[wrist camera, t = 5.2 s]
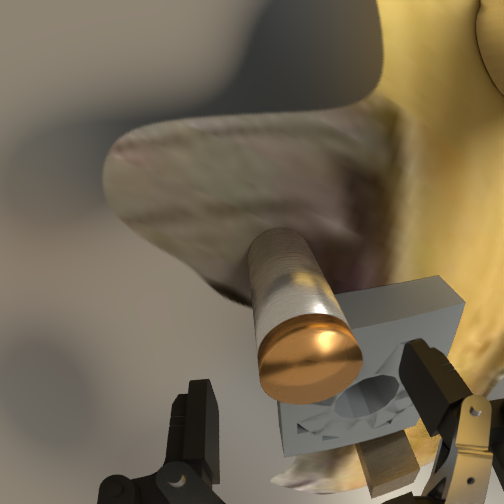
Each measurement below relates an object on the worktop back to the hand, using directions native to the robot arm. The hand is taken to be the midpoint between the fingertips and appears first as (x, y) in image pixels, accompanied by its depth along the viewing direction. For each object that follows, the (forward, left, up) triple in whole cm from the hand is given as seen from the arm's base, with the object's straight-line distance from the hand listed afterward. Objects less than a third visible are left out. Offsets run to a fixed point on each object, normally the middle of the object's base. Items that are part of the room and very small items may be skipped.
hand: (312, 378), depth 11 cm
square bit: (+23, +10, -10) cm, 27 cm away
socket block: (+11, +6, -10) cm, 16 cm away
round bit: (-1, 0, -10) cm, 10 cm away
